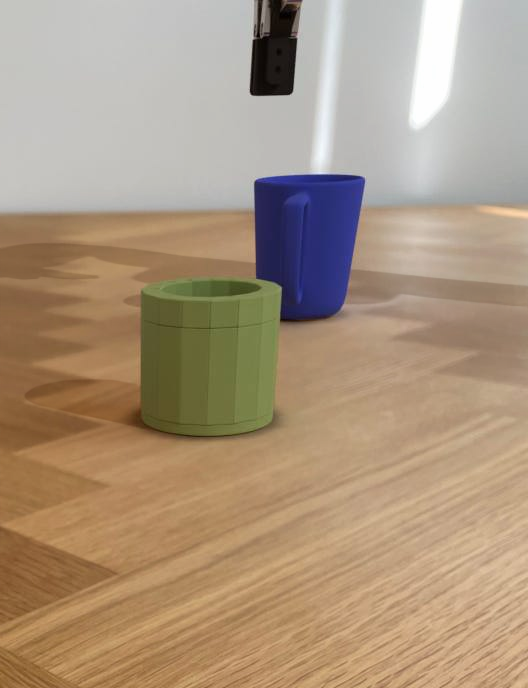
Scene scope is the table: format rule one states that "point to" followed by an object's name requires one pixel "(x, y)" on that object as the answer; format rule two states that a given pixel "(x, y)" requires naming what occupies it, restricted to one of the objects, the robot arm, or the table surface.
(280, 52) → the robot arm
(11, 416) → the table surface
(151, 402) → the green open cylindrical container
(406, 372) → the table surface
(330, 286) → the mug
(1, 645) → the table surface
